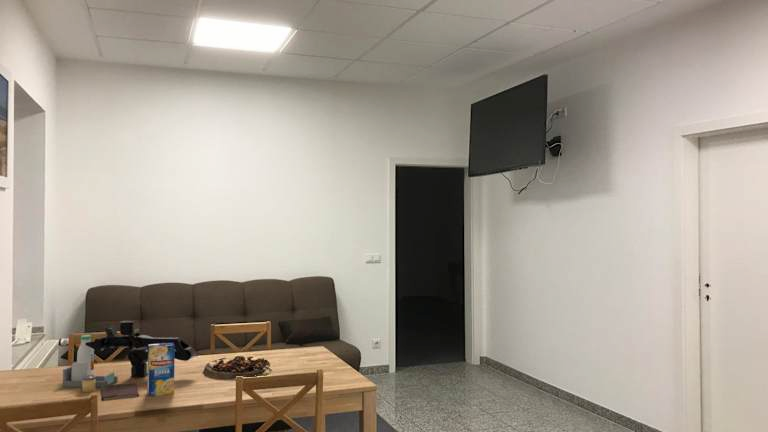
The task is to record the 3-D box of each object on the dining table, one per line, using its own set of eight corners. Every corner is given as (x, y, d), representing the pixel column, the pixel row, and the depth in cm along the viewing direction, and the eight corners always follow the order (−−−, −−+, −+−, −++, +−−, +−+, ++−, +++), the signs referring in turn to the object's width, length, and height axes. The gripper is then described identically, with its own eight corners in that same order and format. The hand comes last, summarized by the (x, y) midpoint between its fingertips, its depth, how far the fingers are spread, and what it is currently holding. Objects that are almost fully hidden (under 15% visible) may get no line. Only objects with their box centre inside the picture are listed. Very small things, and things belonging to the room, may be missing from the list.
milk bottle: (86, 377, 298) (87, 337, 298) (73, 376, 299) (73, 336, 299) (97, 373, 305) (97, 334, 305) (83, 372, 307) (84, 333, 307)
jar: (98, 389, 277) (98, 375, 277) (91, 392, 272) (91, 378, 272) (86, 388, 278) (86, 375, 278) (79, 392, 272) (79, 378, 272)
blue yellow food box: (147, 392, 272) (147, 344, 272) (172, 389, 277) (172, 342, 277) (148, 396, 266) (149, 347, 266) (174, 393, 271) (174, 345, 271)
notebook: (136, 386, 284) (136, 382, 284) (138, 397, 266) (138, 392, 266) (101, 390, 278) (101, 385, 278) (101, 401, 260) (101, 396, 260)
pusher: (114, 381, 289) (114, 372, 289) (106, 386, 281) (106, 376, 281) (112, 381, 289) (112, 372, 289) (104, 386, 281) (104, 376, 281)
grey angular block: (87, 384, 285) (87, 363, 286) (71, 385, 283) (71, 364, 283) (87, 382, 289) (88, 361, 289) (72, 383, 286) (72, 362, 287)
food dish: (256, 363, 336) (257, 349, 336) (280, 377, 308) (280, 362, 308) (193, 369, 317) (194, 354, 317) (212, 384, 289) (213, 368, 289)
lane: (117, 381, 291) (117, 365, 291) (106, 387, 280) (107, 370, 280) (75, 380, 291) (75, 364, 291) (62, 386, 281) (63, 369, 281)
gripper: (128, 323, 311) (99, 323, 311) (112, 328, 292) (80, 329, 293) (128, 344, 311) (99, 345, 311) (112, 351, 292) (80, 351, 292)
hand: (90, 342), depth 302 cm, fingers open, 9 cm apart
